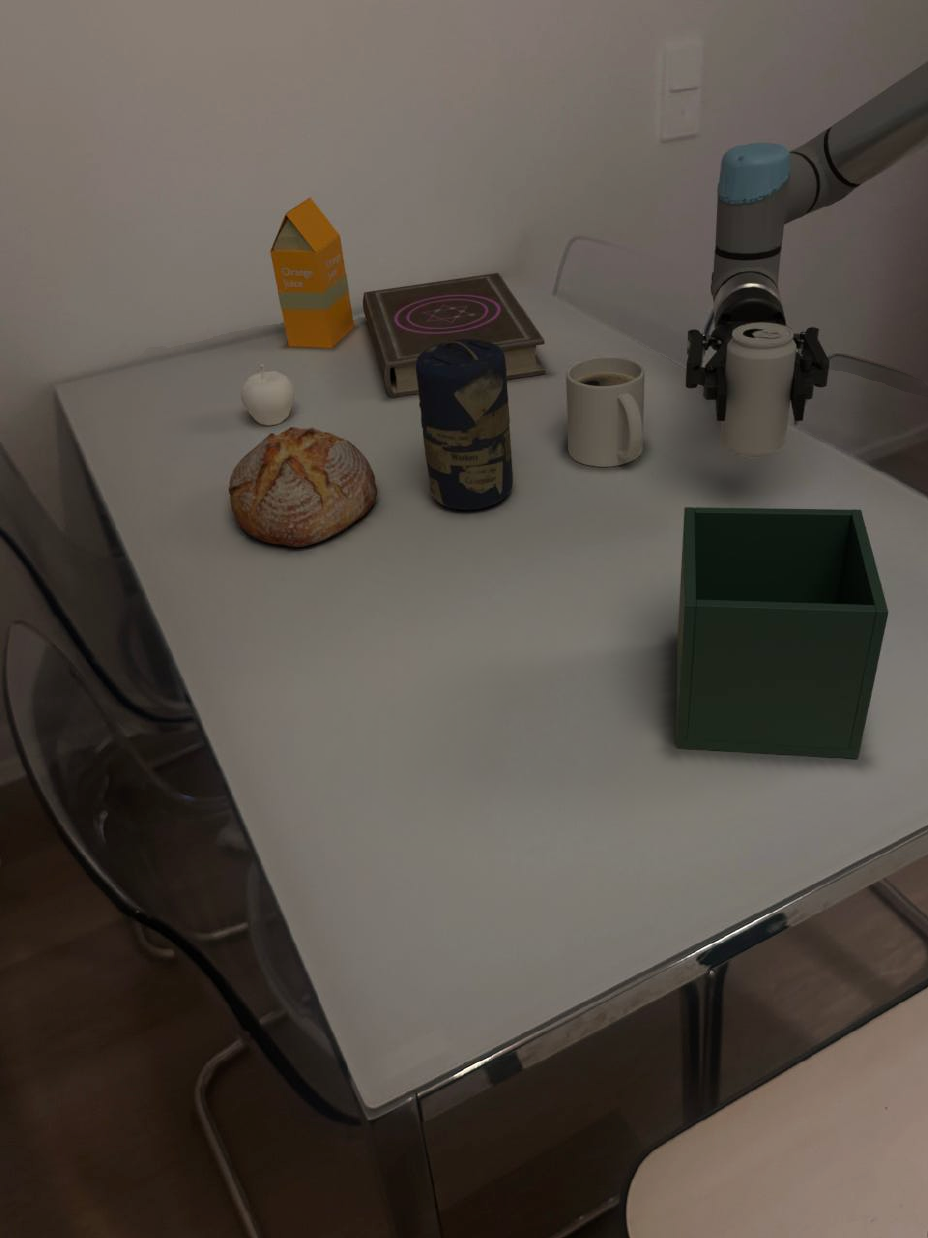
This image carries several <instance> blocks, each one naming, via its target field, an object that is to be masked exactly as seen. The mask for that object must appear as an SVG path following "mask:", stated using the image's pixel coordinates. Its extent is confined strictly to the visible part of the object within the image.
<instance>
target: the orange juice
mask: <svg viewBox="0 0 928 1238" xmlns="http://www.w3.org/2000/svg"><path fill="white" fill-rule="evenodd" d="M269 253H270V258H271V264H272V268H273V273H274V277H275V283H276V289H277V295H278V300H279V306H280V310H281V314H282V318H283V323H284V329H285V334H286V339H287V344H288V347H290V348H291V347H295V348H318V349H334V347H336V345H338V343H340V342H341V341H342V340H343V339H344V338H345V337H346V336H347V335H348V334H349V333H350V332H351V331H352V330H353V329H354V328H355V323H354V322H355V321H354V317H353V309H352V305H351V298H350V297H351V296H350V289H349V282H348V276H347V272H346V267H345V259H344V252H343V245H342V240H341V234H340V233H339V232H338V231H337V230H336V228H335V227H334V226H333V224H332V223H331V222H330V220H329V219H328V218H327V216H326V215H325V214H324V212H323V211H322V210H321V209H320V207H319V206H318V205H317V204H316V202H315V201H314V200H313V199H312V196H310V197H308V198H306V199H305V200H304V201H302V202H300V203H299V204H297V205H295V206H294V207H293V208H291V209H289V210H288V211H286V212H285V214H284V217H283V218H282V221H281V224H280V226H279V228H278V232H277V234H276V236H275V239H274V241H273V244H272V246H271V248H270V250H269Z"/></svg>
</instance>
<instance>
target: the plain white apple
mask: <svg viewBox="0 0 928 1238" xmlns="http://www.w3.org/2000/svg"><path fill="white" fill-rule="evenodd" d="M294 398H295V388H294V385H293V382H292V381H291V380H290V379H289V378H288V376H286V375H285V374H283V373H281V372H279V371H276V370H269V371H265V365H264V364H263V363H262V364H260V371H259V372H257V373H255V374H252V375H250V376H248V377H246V379H245V380H244V382H243V383H242V386H241V388H240V400H241V402H242V404H243V406H244V408H245V409H246V410H247V412H248V413H249V414H250V415H251V417H252V418H253V419H254V420H255V421H256V422H257V424H260V425H262V426H270V427H271V426H274V425H275V426H276V425H279V424H281V423H282V422H284V421H285V420H287V418H288V417H289V416H290V413H291V409H292V405H293V403H294Z"/></svg>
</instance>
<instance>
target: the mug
mask: <svg viewBox="0 0 928 1238" xmlns="http://www.w3.org/2000/svg"><path fill="white" fill-rule="evenodd" d="M645 373H646V372H645V368H644V366H643V365H642V364H641V363H640V362H639V361H636V360H634V359H631V358H628V357H624V356H618V355H617V356H616V355H603V356H594V357H589V358H585V359H582V360H578V361H576V362H575V363H573V364H571V365H570V366H569V367H568V369H567V370H566V373H565V376H566V377H565V379H566V380H565V381H566V382H565V384H566V420H567V421H566V422H567V425H566V426H567V452H568V454H569V456H570V457H571V458H572V460H574V461H576V462H578V463H580V464H582V465H586V466H590V467H597V468H599V467H600V468H608V467H609V468H610V467H618V466H622V465H625V464H629V463H631V462H633V461H635V460H636V459H638V458H639V457H640V455H642V452H643V450H644V449H643V448H644V413H645V376H646V375H645Z"/></svg>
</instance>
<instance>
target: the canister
mask: <svg viewBox="0 0 928 1238" xmlns="http://www.w3.org/2000/svg"><path fill="white" fill-rule="evenodd" d="M416 375H417V383H418V392H419V394H418V398H419V399H418V400H419V403H418V405H419V406H418V407H419V408H420V409H419V410H420V424H421V428H422V438H423V439H422V440H423V446H424V456H425V461H426V466H427V475H428V482H429V489H430V493H431V495H432V497H433V499H434V500H435V501H436V502H438V503H439V504H441V505H442V506H445V507H448V508H451V509H455V510H465V511H467V510H480V509H484V508H488V507H491V506H494V505H496V504H498V503H500V502H501V501H502V500H504V499H505V498H507V496H508V495H509V494H510V493H511V491H512V488H513V485H514V474H513V460H512V459H513V458H512V457H513V456H512V441H511V440H512V439H511V431H510V430H511V429H510V428H511V427H510V423H511V418H510V406H509V393H508V392H509V391H508V380H507V372H506V361H505V356H504V353H503V351H502V350H501V348H500V347H499V346H497V345H495V344H493V343H491V342H488V341H483V340H475V339H459V340H452V341H447V342H443V343H439V344H436V345H433V346H431V347H429V348H427V349H426V350H424V351H423V352H422V353H421V354H420V355H419V356H418V358H417V361H416Z"/></svg>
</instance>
